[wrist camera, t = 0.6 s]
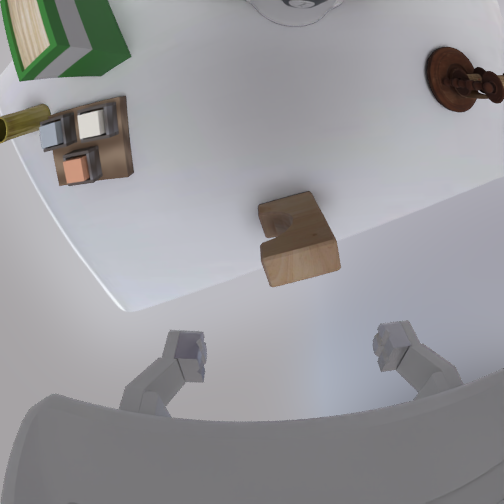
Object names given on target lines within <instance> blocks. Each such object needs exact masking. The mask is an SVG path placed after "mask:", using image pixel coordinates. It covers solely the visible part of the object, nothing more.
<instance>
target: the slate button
mask: <svg viewBox="0 0 504 504" xmlns="http://www.w3.org/2000/svg"><path fill="white" fill-rule="evenodd" d="M39 132H40V139H41V146H42V148H46V147H50V146H53V145H57V144H60V143H62V142H64V141H63V134H62V125H61V121H57V122H54V123H51V124H48V125H45V126H42V127H39Z"/></svg>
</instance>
